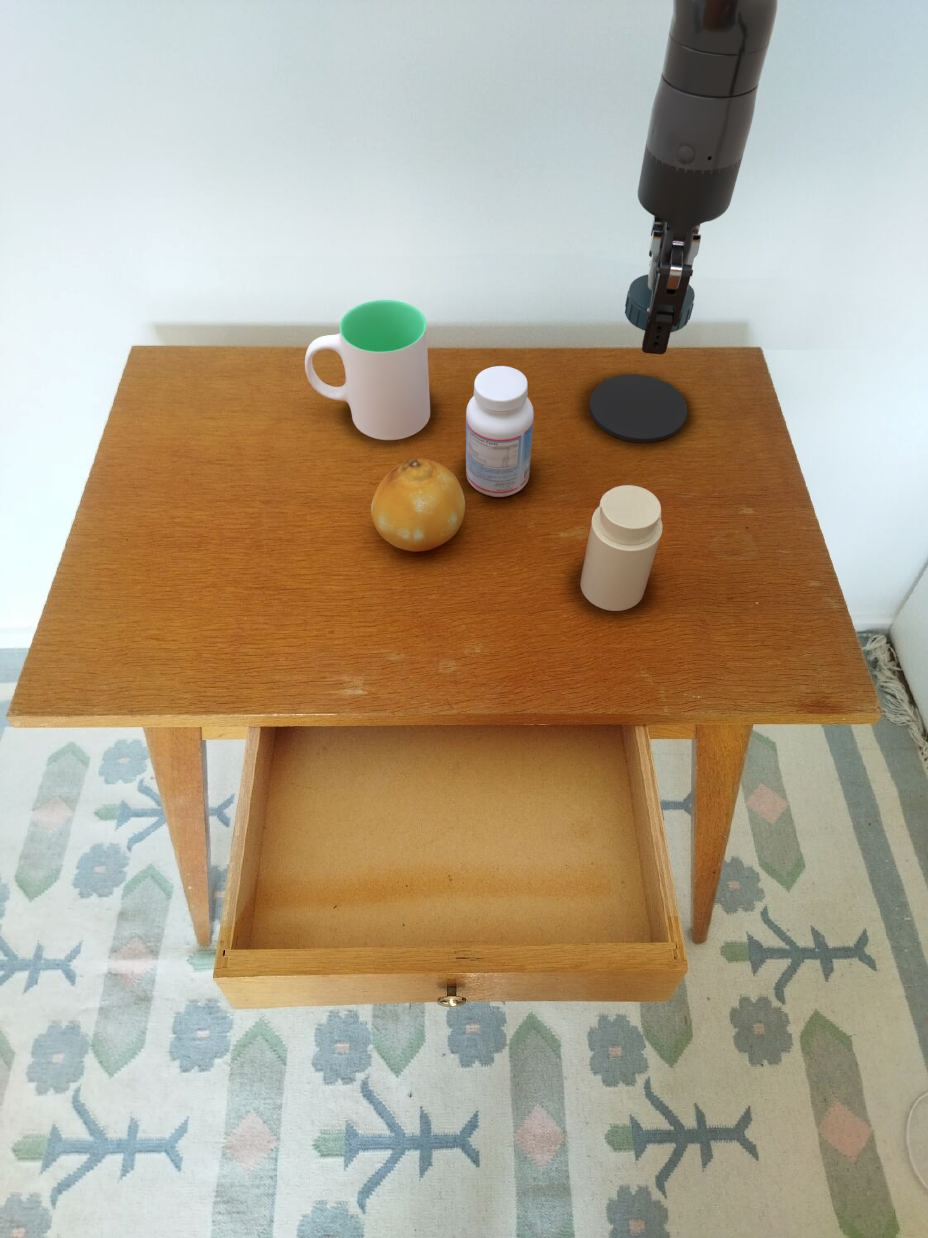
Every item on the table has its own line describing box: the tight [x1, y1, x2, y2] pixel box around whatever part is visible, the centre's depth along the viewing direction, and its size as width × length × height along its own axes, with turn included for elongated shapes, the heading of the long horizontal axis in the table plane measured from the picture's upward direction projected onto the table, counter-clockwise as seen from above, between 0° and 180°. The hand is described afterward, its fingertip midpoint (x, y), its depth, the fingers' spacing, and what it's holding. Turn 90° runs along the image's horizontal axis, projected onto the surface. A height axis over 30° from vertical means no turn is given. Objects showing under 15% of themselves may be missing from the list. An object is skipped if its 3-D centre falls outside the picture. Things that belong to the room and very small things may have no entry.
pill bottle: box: [465, 365, 535, 498], centre depth 75 cm, size 6×6×11 cm
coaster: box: [588, 374, 688, 444], centre depth 85 cm, size 10×10×1 cm
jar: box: [579, 484, 663, 612], centre depth 68 cm, size 6×6×10 cm
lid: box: [624, 273, 696, 333], centre depth 75 cm, size 6×6×2 cm
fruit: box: [370, 457, 466, 552], centre depth 73 cm, size 8×8×8 cm
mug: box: [304, 299, 431, 441], centre depth 80 cm, size 12×8×10 cm
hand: (654, 329), depth 77 cm, fingers closed on lid, 6 cm apart
